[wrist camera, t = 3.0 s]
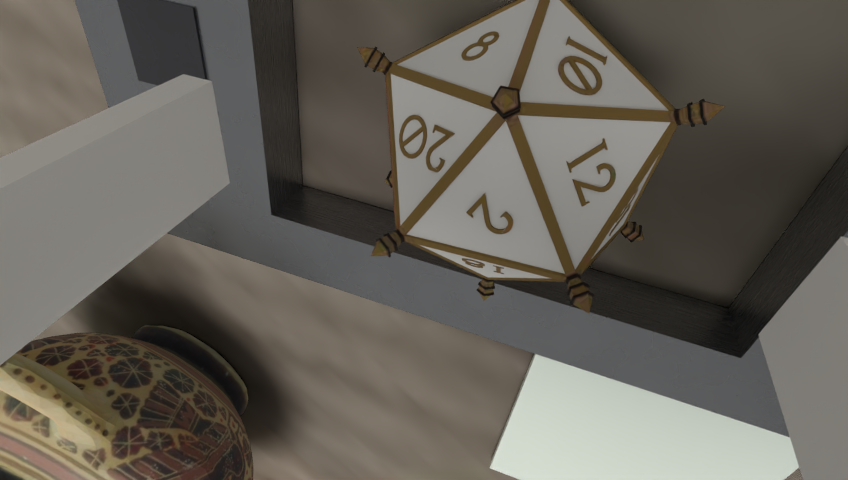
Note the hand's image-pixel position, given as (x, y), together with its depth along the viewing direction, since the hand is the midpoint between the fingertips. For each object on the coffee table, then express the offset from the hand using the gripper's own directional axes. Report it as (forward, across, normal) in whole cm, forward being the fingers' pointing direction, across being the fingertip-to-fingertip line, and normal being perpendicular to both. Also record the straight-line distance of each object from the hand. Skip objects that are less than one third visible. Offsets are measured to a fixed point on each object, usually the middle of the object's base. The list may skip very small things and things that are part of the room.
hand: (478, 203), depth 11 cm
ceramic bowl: (+7, +19, +25) cm, 32 cm away
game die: (+7, 0, 0) cm, 7 cm away
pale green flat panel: (+7, -9, +16) cm, 20 cm away
